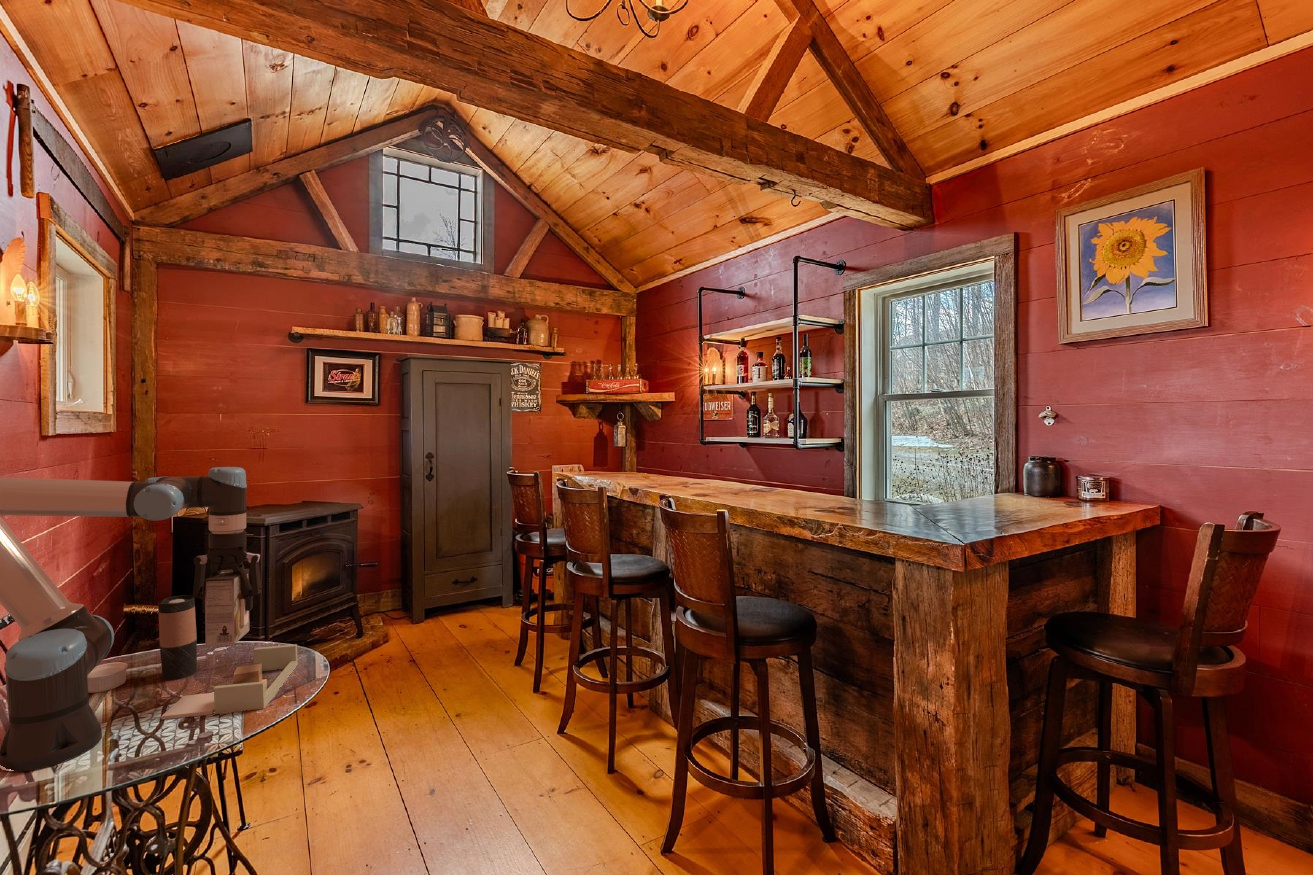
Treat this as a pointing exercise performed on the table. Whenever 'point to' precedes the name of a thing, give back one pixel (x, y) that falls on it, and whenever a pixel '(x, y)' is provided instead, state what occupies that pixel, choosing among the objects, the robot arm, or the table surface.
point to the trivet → (191, 706)
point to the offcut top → (248, 674)
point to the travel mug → (177, 637)
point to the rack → (254, 693)
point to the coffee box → (224, 608)
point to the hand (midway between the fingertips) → (227, 624)
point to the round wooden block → (106, 677)
